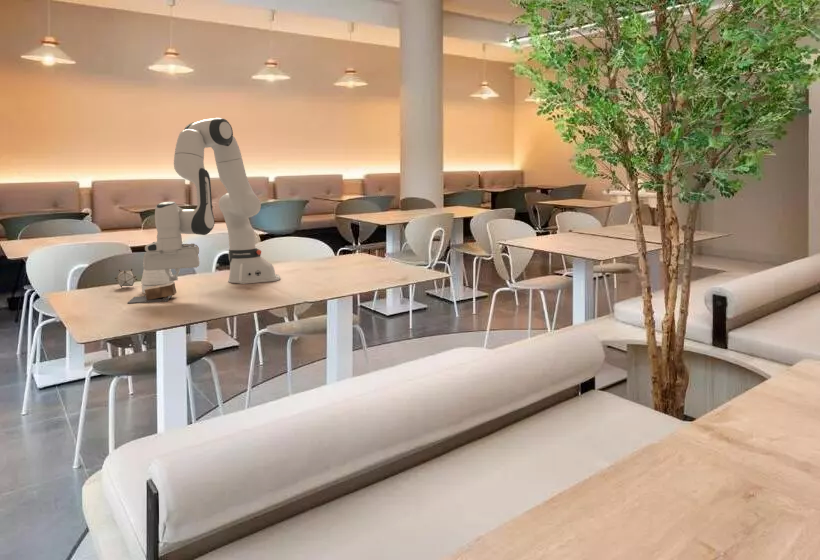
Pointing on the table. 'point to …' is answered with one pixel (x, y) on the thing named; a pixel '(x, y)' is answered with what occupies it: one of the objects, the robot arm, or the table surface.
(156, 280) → the honey pot
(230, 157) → the robot arm
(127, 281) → the twenty-sided die
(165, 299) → the rail
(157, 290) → the walnut block
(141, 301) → the mat
